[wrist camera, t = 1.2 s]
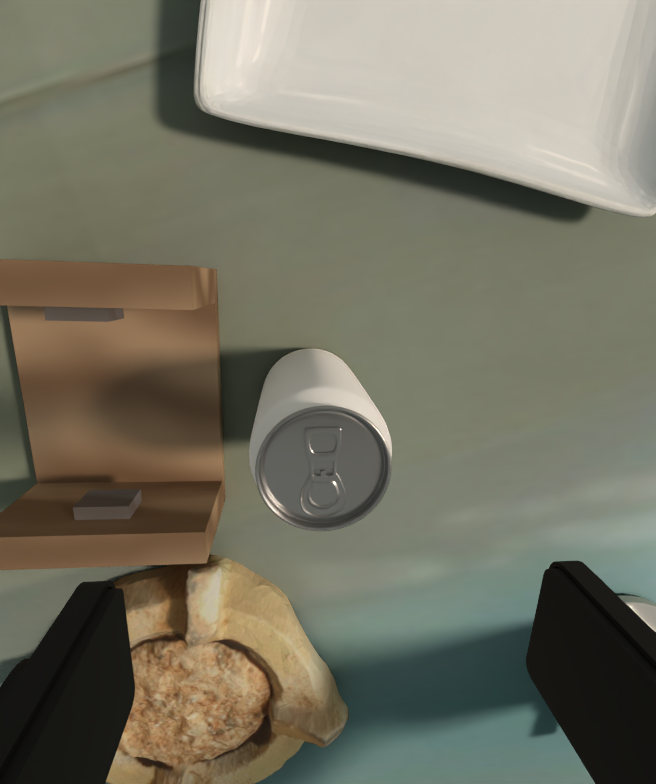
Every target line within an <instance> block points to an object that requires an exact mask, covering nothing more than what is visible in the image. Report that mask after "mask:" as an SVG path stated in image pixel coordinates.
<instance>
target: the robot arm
mask: <svg viewBox="0 0 656 784" xmlns="http://www.w3.org/2000/svg"><path fill="white" fill-rule="evenodd" d="M526 665H527V669H528V672H529V675H530V677H531V679H532V681H533V682H534V684H535V686H536V687H537V689H538V691H539V692H540V694H541V695H542V697H543V699H544V700H545V702H546V704H547V705H548V707H549V709H550V710H551V712H552V713H553V715H554V717H555V718H556V720H557V722H558V723H559V725H560V727H561V728H562V730H563V731H564V733H565V735H566V736H567V738H568V740H569V741H570V743H571V745H572V746H573V748H574V749H575V751H576V753H577V754H578V756H579V758H580V759H581V761H582V763H583V765H584V766H585V767H586V769H587V771H588V772H589V774H590V776H591V777H592V779H593V780H594V782H595V784H656V604H654V603H653V602H651V601H649V600H646V599H644V598H641V597H636V596H617V595H616V594H615V593H614V592H613V591H612V590H611V589H610V588H609V587H608V586H607V585H606V584H605V583H604V582H603V581H602V580H601V579H600V578H599V577H598V576H597V575H595V574H594V573H593V572H592V571H591V570H590V569H589V568H588V567H587V566H586V565H585V564H584V563H582V562H580V561H559V562H553V563H552V564H551V565H550V567H549V569H546V570H545V572H544V575H543V580H542V585H541V590H540V595H539V599H538V604H537V609H536V614H535V619H534V624H533V628H532V633H531V638H530V643H529V648H528V653H527V657H526ZM134 696H135V681H134V673H133V665H132V657H131V648H130V640H129V632H128V624H127V616H126V608H125V600H124V593H123V590H122V588H115V584H114V583H113V581H97V582H83V583H81V584H80V585H79V586H78V587H77V588H76V590H75V591H74V593H73V594H72V596H71V597H70V599H69V600H68V602H67V603H66V605H65V606H64V608H63V609H62V611H61V612H60V614H59V615H58V617H57V618H56V620H55V621H54V623H53V624H52V626H51V627H50V629H49V630H48V632H47V633H46V635H45V636H44V638H43V639H42V641H41V642H40V644H39V645H38V647H37V648H36V650H35V651H34V653H33V654H32V656H31V657H30V659H24V660H22V661H21V662H20V663H18V664H17V665H16V666H15V668H14V669H13V670H12V671H11V672H10V674H9V675H8V677H7V678H6V680H5V681H4V682H3V684H2V685H1V687H0V784H105V783H106V780H107V777H108V774H109V771H110V768H111V766H112V763H113V760H114V757H115V754H116V751H117V749H118V746H119V743H120V740H121V737H122V734H123V732H124V729H125V726H126V723H127V720H128V717H129V715H130V712H131V709H132V706H133V701H134Z"/></svg>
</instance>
